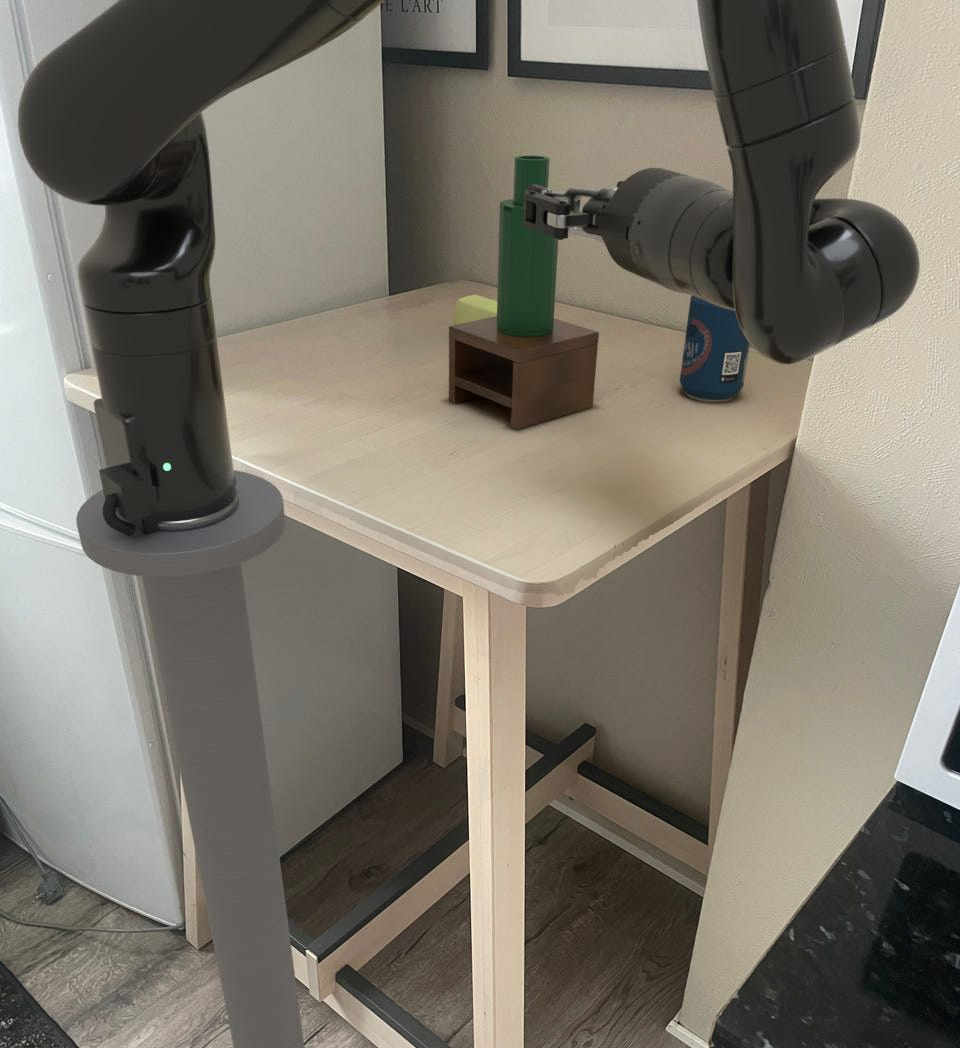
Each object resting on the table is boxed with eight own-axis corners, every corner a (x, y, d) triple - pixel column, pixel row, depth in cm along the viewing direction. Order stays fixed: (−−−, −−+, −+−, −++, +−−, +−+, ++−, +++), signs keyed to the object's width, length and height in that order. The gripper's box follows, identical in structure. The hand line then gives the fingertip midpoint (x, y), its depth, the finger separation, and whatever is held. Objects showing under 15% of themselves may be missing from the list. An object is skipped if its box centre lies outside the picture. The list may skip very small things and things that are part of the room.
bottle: (523, 340, 98) (530, 163, 89) (485, 327, 101) (488, 156, 93) (564, 330, 101) (575, 158, 92) (526, 318, 105) (533, 152, 96)
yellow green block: (484, 301, 113) (448, 283, 130) (472, 349, 115) (438, 325, 132) (591, 328, 117) (542, 306, 135) (578, 374, 119) (532, 347, 137)
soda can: (667, 386, 111) (681, 276, 105) (721, 381, 113) (738, 273, 107) (697, 407, 106) (713, 292, 99) (753, 401, 108) (773, 288, 101)
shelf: (517, 430, 99) (520, 351, 95) (448, 400, 106) (448, 326, 102) (593, 407, 105) (599, 331, 101) (523, 381, 112) (526, 309, 108)
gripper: (767, 172, 72) (652, 145, 84) (595, 179, 67) (500, 149, 80) (749, 279, 76) (642, 237, 88) (586, 292, 71) (497, 246, 84)
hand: (575, 196), depth 84 cm, fingers open, 8 cm apart
